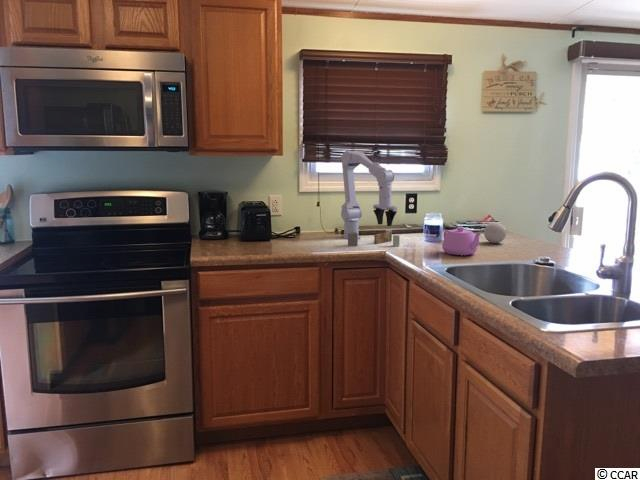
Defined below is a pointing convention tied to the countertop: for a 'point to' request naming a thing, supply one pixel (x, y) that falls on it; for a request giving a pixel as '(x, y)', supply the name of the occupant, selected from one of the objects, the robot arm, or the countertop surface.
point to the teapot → (460, 241)
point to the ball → (495, 232)
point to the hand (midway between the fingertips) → (384, 225)
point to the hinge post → (391, 233)
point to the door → (382, 237)
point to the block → (352, 239)
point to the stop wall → (395, 240)
